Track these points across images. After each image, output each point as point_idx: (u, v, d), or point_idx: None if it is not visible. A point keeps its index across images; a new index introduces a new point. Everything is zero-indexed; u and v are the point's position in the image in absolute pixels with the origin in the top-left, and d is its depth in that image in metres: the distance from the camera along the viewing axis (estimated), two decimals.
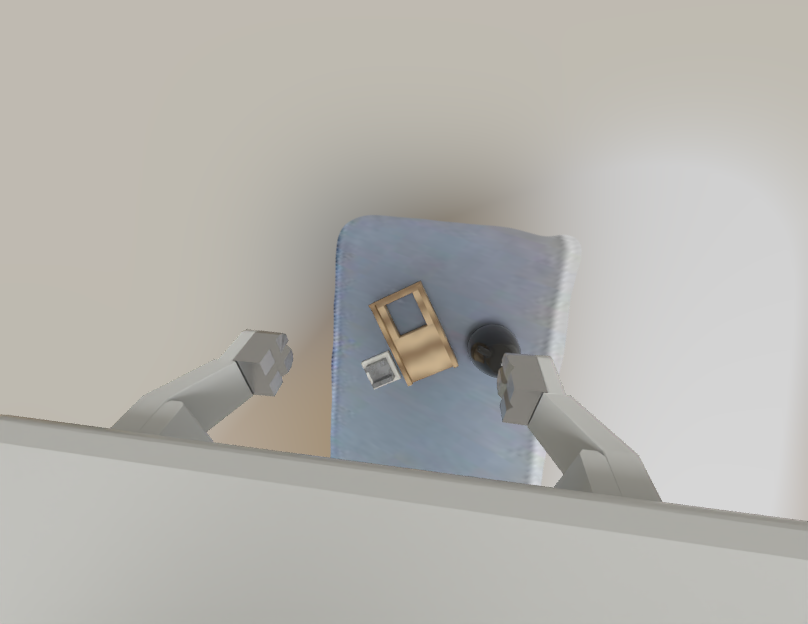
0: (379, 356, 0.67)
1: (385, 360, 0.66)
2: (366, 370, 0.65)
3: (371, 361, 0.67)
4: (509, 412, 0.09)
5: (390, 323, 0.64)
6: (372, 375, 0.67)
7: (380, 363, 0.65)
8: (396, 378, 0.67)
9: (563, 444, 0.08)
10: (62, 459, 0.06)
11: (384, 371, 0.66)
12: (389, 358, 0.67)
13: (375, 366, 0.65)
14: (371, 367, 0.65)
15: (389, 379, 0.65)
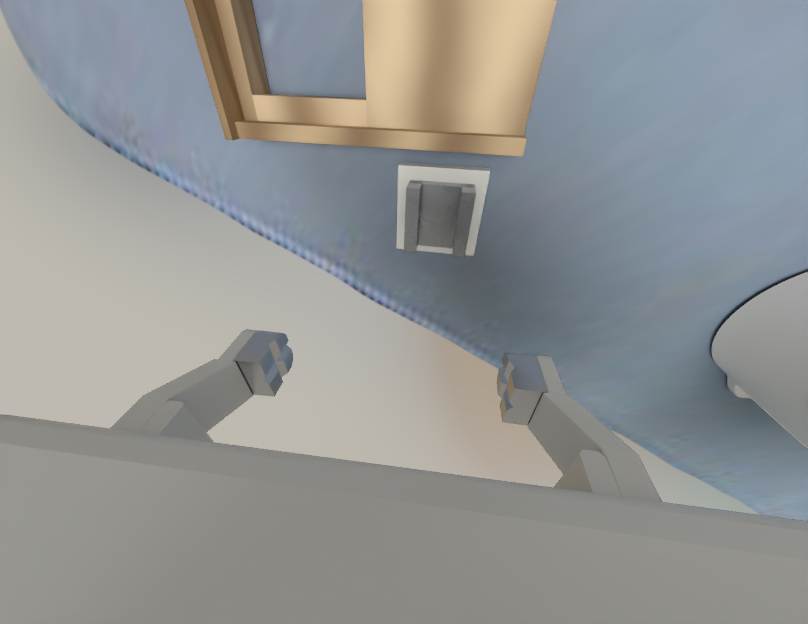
0: (400, 195, 0.24)
1: (413, 184, 0.22)
2: (410, 248, 0.24)
3: (404, 223, 0.25)
4: (508, 413, 0.09)
5: (311, 102, 0.20)
6: (435, 241, 0.25)
7: (409, 202, 0.22)
8: (482, 183, 0.22)
9: (563, 444, 0.08)
10: (62, 459, 0.06)
11: (444, 204, 0.23)
12: (418, 171, 0.23)
13: (411, 220, 0.22)
14: (408, 232, 0.23)
15: (466, 203, 0.21)
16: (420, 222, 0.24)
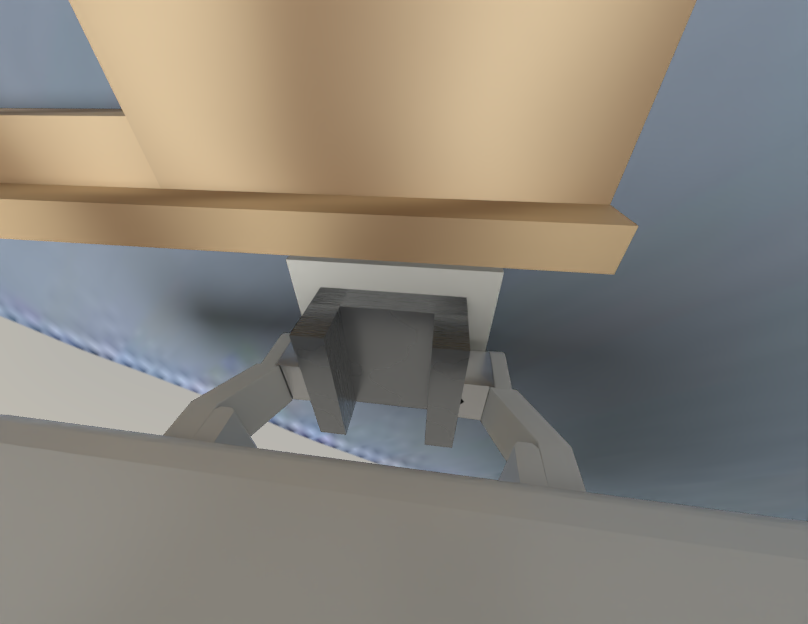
0: None
1: (317, 311, 0.09)
2: (332, 428, 0.11)
3: None
4: (461, 408, 0.09)
5: None
6: (390, 398, 0.12)
7: (306, 360, 0.09)
8: (485, 296, 0.09)
9: (508, 437, 0.08)
10: (62, 459, 0.06)
11: (398, 343, 0.10)
12: (335, 271, 0.10)
13: (320, 389, 0.10)
14: (321, 405, 0.10)
15: (446, 367, 0.08)
16: (353, 369, 0.11)
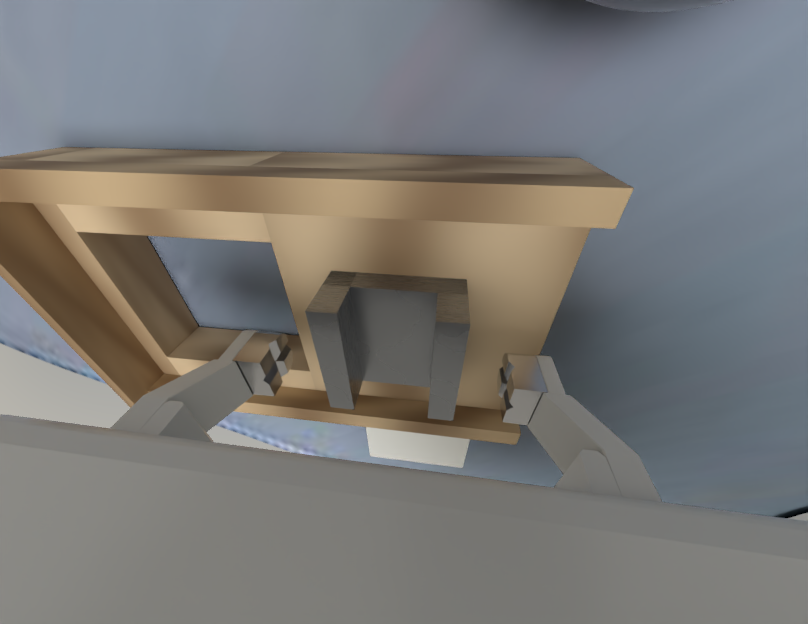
0: None
1: (329, 290, 0.10)
2: (341, 403, 0.12)
3: (376, 440, 0.21)
4: (509, 412, 0.09)
5: None
6: (395, 377, 0.13)
7: (319, 335, 0.09)
8: None
9: (563, 444, 0.08)
10: (62, 459, 0.06)
11: (404, 322, 0.11)
12: None
13: (331, 364, 0.10)
14: (332, 380, 0.11)
15: (448, 340, 0.09)
16: (361, 348, 0.12)
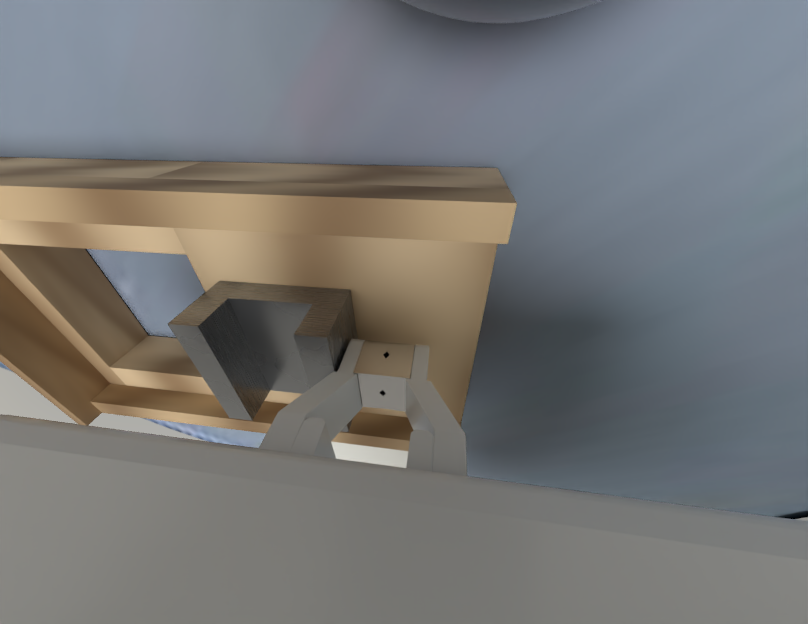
0: None
1: (204, 302, 0.10)
2: (238, 414, 0.12)
3: (335, 449, 0.20)
4: (384, 399, 0.10)
5: (184, 378, 0.15)
6: (300, 386, 0.12)
7: (190, 348, 0.09)
8: None
9: (420, 427, 0.09)
10: (62, 459, 0.06)
11: (290, 333, 0.11)
12: None
13: (213, 376, 0.10)
14: (220, 392, 0.11)
15: (313, 353, 0.09)
16: (258, 359, 0.12)
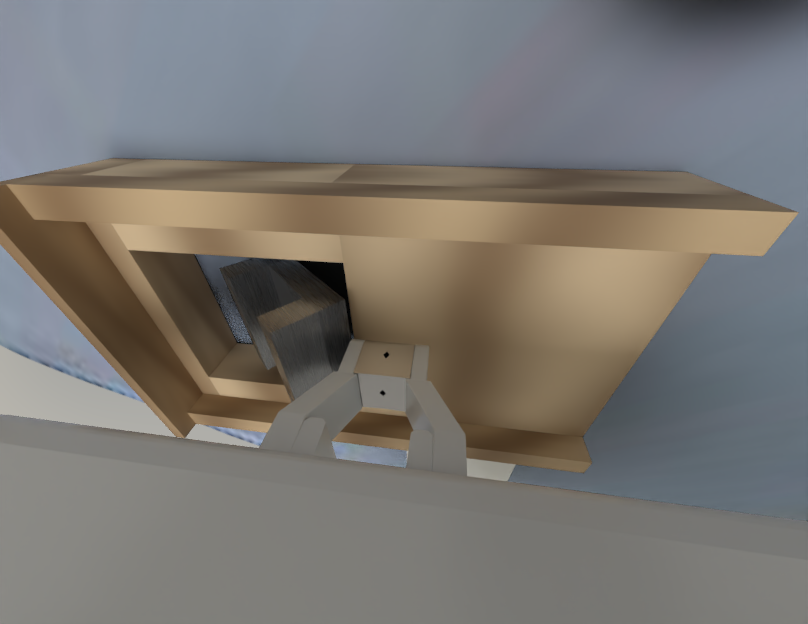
0: None
1: (253, 262, 0.12)
2: (261, 359, 0.14)
3: None
4: (384, 399, 0.10)
5: None
6: None
7: (231, 292, 0.12)
8: None
9: (420, 427, 0.09)
10: (63, 459, 0.06)
11: None
12: None
13: (244, 320, 0.12)
14: (250, 335, 0.13)
15: (269, 341, 0.09)
16: None
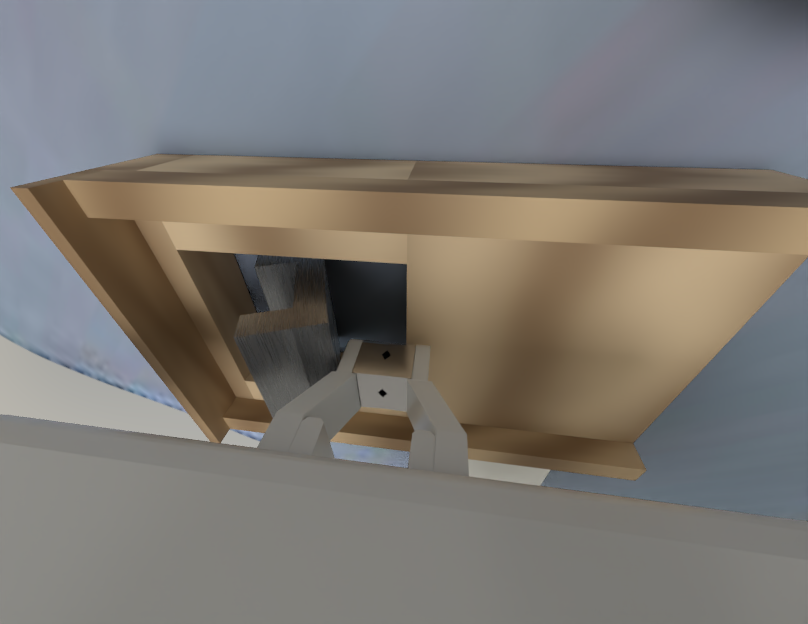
0: None
1: None
2: None
3: None
4: (385, 399, 0.10)
5: None
6: None
7: None
8: None
9: (421, 427, 0.09)
10: (62, 459, 0.06)
11: None
12: None
13: None
14: None
15: None
16: None
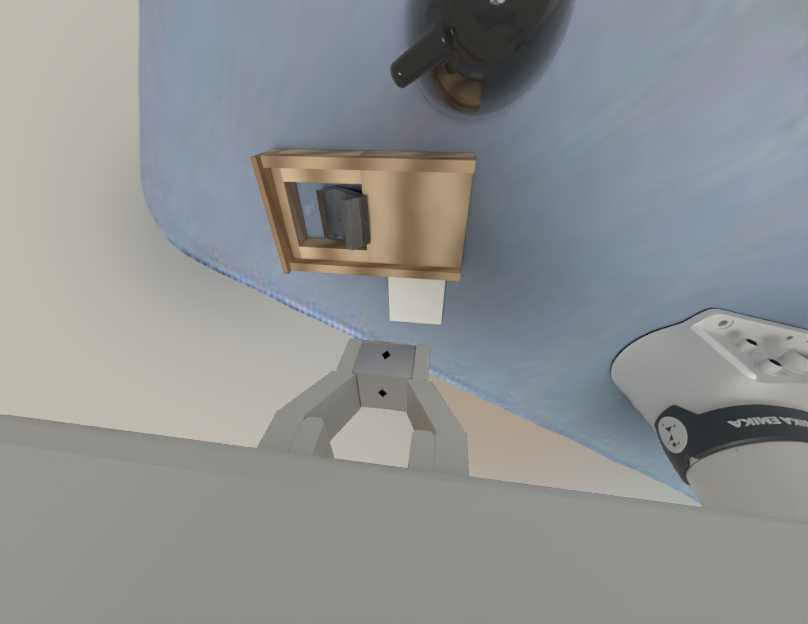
0: (390, 292, 0.37)
1: (327, 189, 0.30)
2: (326, 235, 0.32)
3: (393, 306, 0.39)
4: (386, 399, 0.10)
5: (334, 250, 0.33)
6: None
7: (319, 201, 0.30)
8: (441, 286, 0.36)
9: (421, 427, 0.09)
10: (62, 459, 0.06)
11: None
12: (401, 279, 0.36)
13: (322, 214, 0.31)
14: (323, 222, 0.32)
15: (343, 207, 0.28)
16: (338, 218, 0.32)
